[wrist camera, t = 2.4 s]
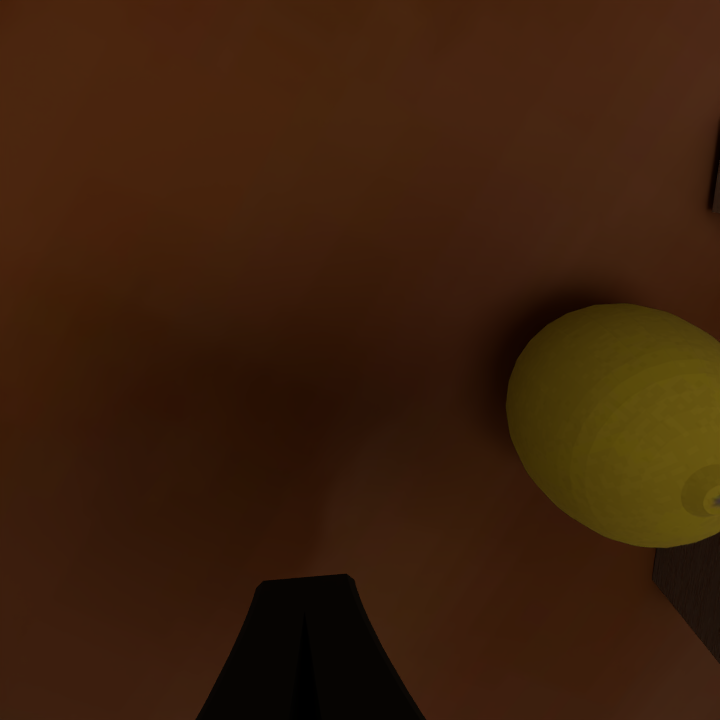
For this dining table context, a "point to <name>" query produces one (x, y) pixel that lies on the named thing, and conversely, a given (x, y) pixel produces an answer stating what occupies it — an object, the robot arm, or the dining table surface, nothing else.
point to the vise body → (693, 586)
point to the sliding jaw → (717, 194)
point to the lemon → (622, 422)
